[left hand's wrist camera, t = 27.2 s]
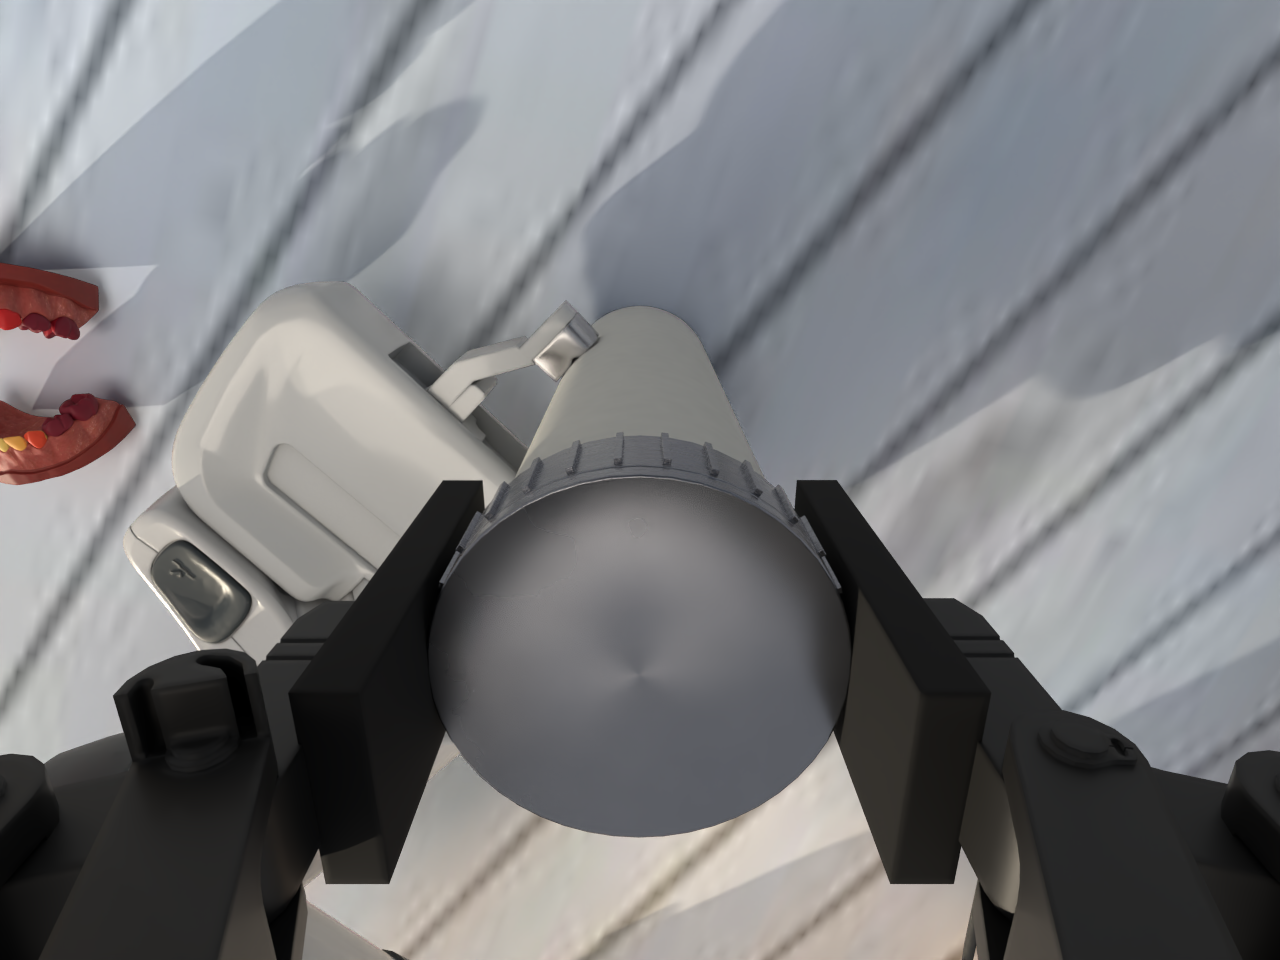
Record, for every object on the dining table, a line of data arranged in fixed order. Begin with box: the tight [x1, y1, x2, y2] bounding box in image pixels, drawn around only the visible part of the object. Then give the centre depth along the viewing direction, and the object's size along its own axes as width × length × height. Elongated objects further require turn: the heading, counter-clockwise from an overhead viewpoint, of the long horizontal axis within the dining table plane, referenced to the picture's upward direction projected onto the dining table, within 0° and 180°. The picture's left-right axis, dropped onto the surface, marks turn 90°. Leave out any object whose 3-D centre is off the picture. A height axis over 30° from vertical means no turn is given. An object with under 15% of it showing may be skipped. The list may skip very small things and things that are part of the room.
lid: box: [427, 432, 852, 837], centre depth 11 cm, size 6×6×2 cm
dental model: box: [0, 263, 136, 485], centre depth 27 cm, size 6×4×8 cm
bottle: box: [515, 306, 765, 479], centre depth 20 cm, size 6×6×19 cm
